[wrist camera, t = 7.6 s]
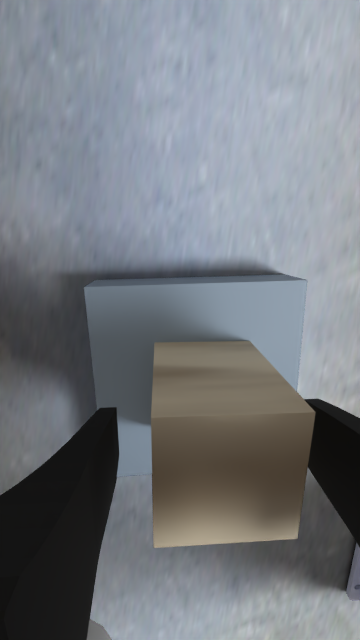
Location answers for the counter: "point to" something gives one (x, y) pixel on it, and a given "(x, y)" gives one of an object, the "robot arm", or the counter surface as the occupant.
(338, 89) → the counter surface
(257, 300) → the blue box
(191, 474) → the birch block
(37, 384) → the counter surface
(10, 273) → the counter surface
